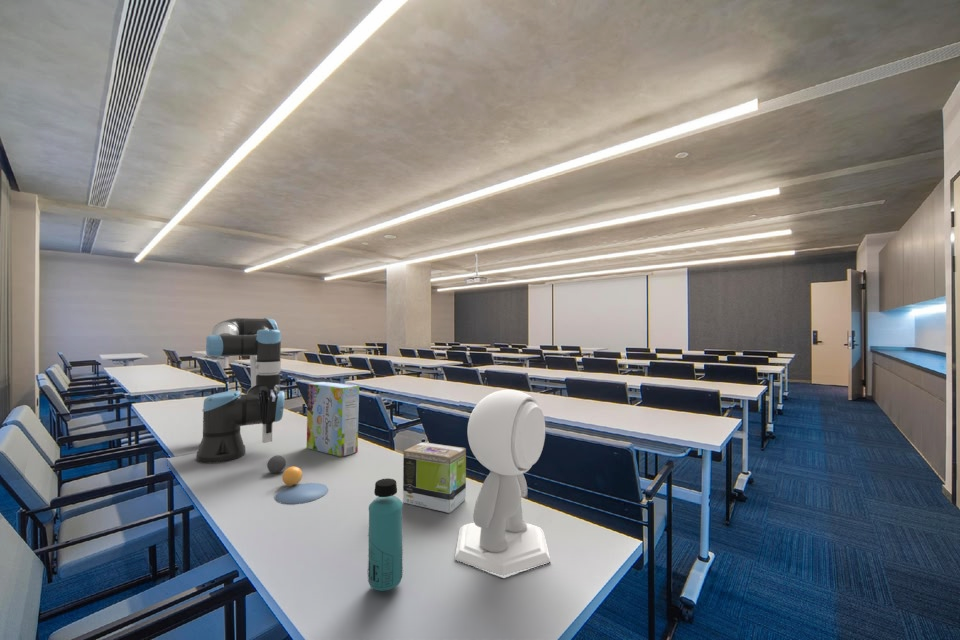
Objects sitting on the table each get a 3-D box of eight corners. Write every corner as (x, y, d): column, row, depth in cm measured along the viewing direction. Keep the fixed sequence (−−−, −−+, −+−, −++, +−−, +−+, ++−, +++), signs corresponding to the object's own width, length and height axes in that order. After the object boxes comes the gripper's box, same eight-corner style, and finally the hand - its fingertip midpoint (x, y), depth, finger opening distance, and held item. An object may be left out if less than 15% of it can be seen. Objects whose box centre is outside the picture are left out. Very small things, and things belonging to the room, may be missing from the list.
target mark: (295, 482, 123) (295, 481, 123) (337, 485, 121) (337, 484, 121) (263, 501, 109) (263, 501, 109) (310, 506, 107) (310, 505, 107)
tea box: (466, 499, 112) (467, 447, 112) (449, 515, 103) (449, 457, 103) (421, 489, 119) (422, 440, 119) (401, 503, 109) (402, 449, 110)
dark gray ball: (274, 469, 134) (274, 452, 134) (289, 470, 133) (289, 453, 133) (263, 475, 129) (263, 458, 129) (278, 476, 128) (278, 459, 128)
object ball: (289, 480, 124) (290, 463, 124) (305, 482, 123) (306, 464, 123) (278, 488, 119) (278, 469, 119) (294, 489, 118) (295, 470, 118)
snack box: (359, 452, 153) (360, 385, 153) (341, 458, 145) (342, 388, 146) (323, 442, 164) (324, 380, 164) (304, 448, 157) (305, 382, 157)
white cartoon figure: (530, 590, 74) (531, 402, 75) (433, 551, 86) (435, 390, 87) (566, 541, 91) (568, 388, 91) (481, 515, 103) (483, 380, 104)
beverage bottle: (409, 581, 76) (410, 476, 76) (390, 604, 70) (391, 490, 70) (379, 574, 78) (381, 472, 79) (359, 595, 72) (360, 485, 72)
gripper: (250, 373, 140) (249, 440, 140) (262, 376, 131) (261, 448, 131) (273, 371, 146) (272, 436, 145) (286, 374, 136) (285, 443, 136)
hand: (267, 441), depth 138 cm, fingers closed
